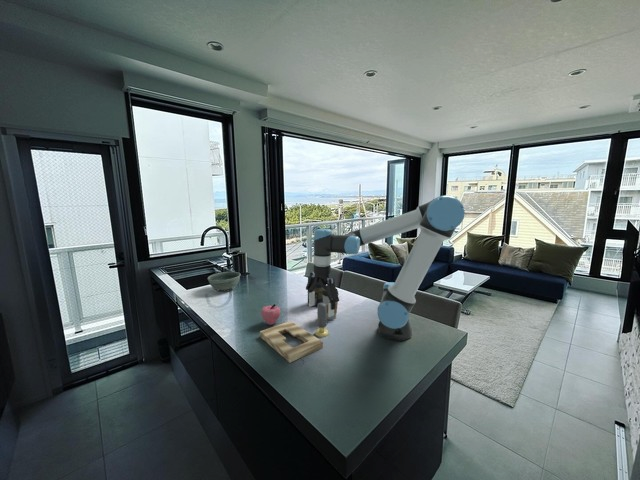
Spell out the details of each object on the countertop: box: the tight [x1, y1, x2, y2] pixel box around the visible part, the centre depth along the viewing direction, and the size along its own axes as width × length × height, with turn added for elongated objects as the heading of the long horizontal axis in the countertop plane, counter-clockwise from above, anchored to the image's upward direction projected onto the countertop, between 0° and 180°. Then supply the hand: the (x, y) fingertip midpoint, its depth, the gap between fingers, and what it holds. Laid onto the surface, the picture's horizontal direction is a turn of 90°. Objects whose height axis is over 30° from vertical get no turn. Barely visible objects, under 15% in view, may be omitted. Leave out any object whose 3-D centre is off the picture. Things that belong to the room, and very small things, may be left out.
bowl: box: [207, 271, 241, 293], centre depth 175 cm, size 21×21×10 cm
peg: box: [314, 303, 329, 338], centre depth 118 cm, size 6×6×14 cm
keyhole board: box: [259, 320, 324, 363], centre depth 111 cm, size 24×16×3 cm, turn 40°
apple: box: [260, 303, 281, 326], centre depth 127 cm, size 10×9×10 cm
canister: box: [307, 275, 324, 307], centre depth 151 cm, size 10×10×18 cm
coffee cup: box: [322, 288, 339, 321], centre depth 134 cm, size 8×8×15 cm
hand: (321, 310), depth 117 cm, fingers open, 13 cm apart
